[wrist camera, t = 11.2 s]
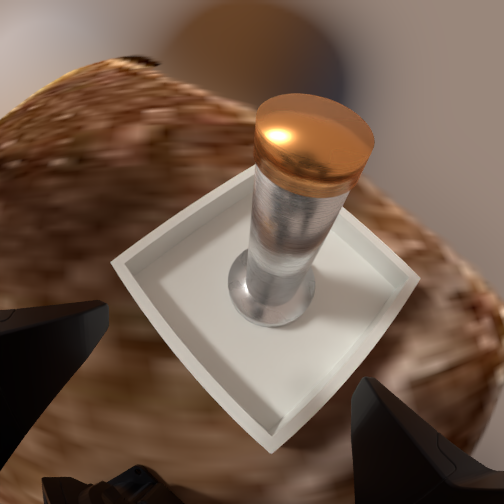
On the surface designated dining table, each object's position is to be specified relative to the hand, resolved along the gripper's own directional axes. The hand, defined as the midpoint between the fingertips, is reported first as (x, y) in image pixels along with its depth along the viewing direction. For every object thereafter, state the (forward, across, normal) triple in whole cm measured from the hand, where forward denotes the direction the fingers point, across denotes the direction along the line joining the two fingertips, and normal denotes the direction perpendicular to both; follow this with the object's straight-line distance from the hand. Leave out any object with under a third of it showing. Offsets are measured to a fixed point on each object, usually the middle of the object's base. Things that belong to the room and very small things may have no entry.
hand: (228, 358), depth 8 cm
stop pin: (+11, -1, +1) cm, 12 cm away
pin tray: (+12, -1, +2) cm, 12 cm away
